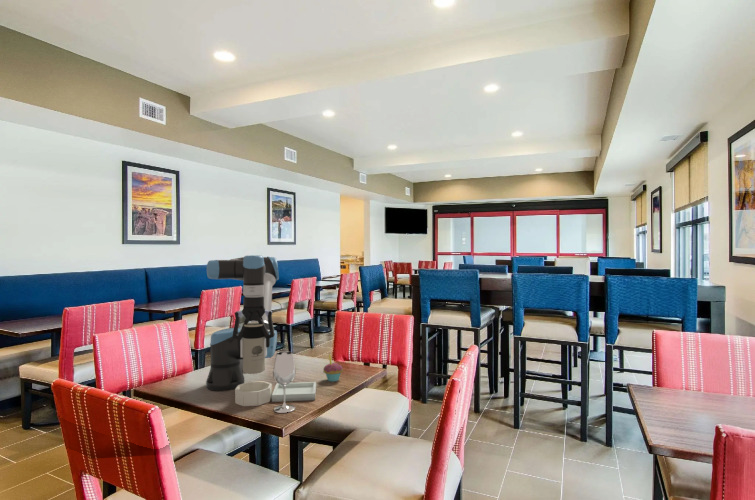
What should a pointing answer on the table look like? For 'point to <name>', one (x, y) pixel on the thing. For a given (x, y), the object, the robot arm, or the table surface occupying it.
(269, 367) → the table surface
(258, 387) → the holder
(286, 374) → the wineglass
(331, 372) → the cupcake
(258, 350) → the travel mug
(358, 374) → the table surface
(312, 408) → the table surface
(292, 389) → the tray
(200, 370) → the table surface
